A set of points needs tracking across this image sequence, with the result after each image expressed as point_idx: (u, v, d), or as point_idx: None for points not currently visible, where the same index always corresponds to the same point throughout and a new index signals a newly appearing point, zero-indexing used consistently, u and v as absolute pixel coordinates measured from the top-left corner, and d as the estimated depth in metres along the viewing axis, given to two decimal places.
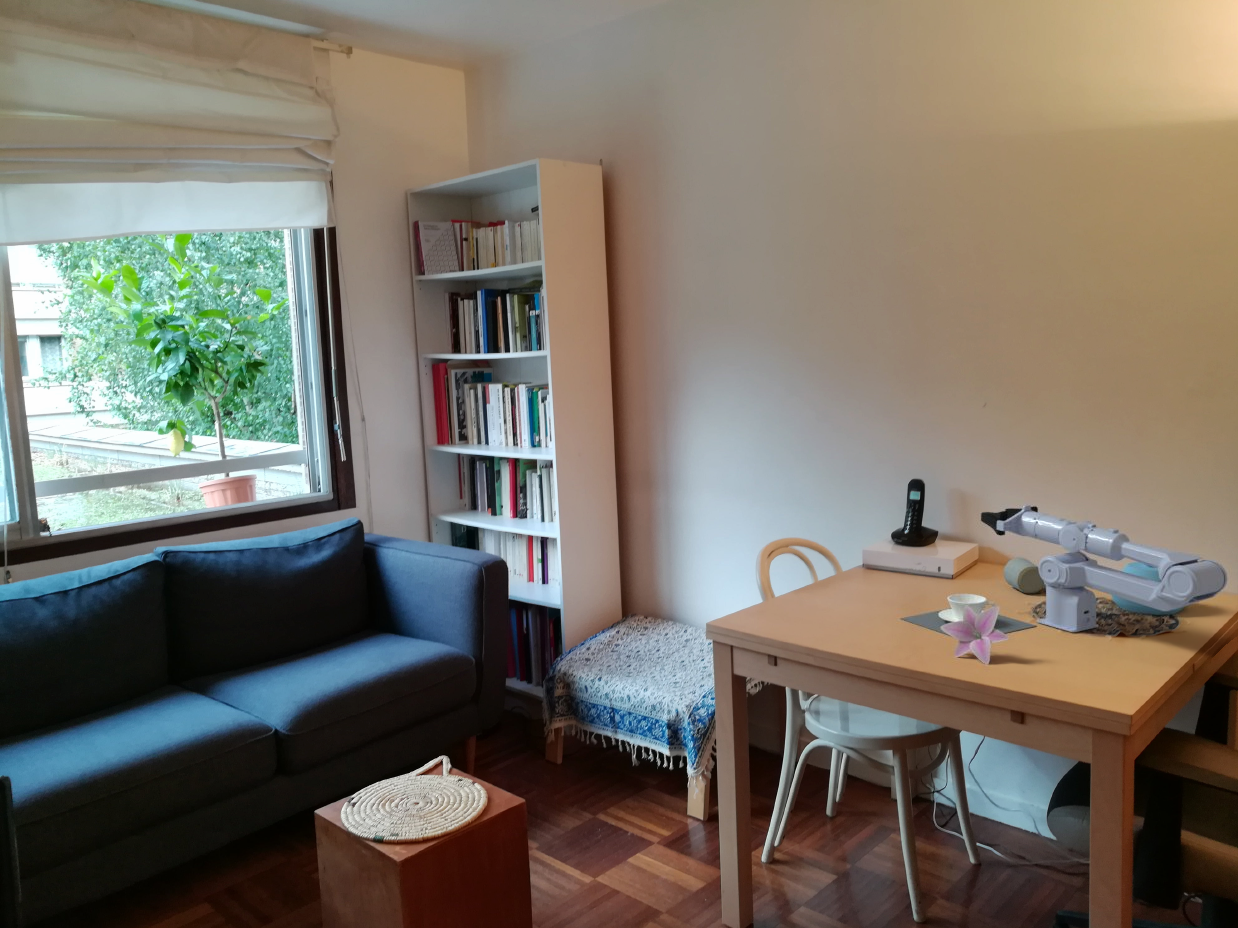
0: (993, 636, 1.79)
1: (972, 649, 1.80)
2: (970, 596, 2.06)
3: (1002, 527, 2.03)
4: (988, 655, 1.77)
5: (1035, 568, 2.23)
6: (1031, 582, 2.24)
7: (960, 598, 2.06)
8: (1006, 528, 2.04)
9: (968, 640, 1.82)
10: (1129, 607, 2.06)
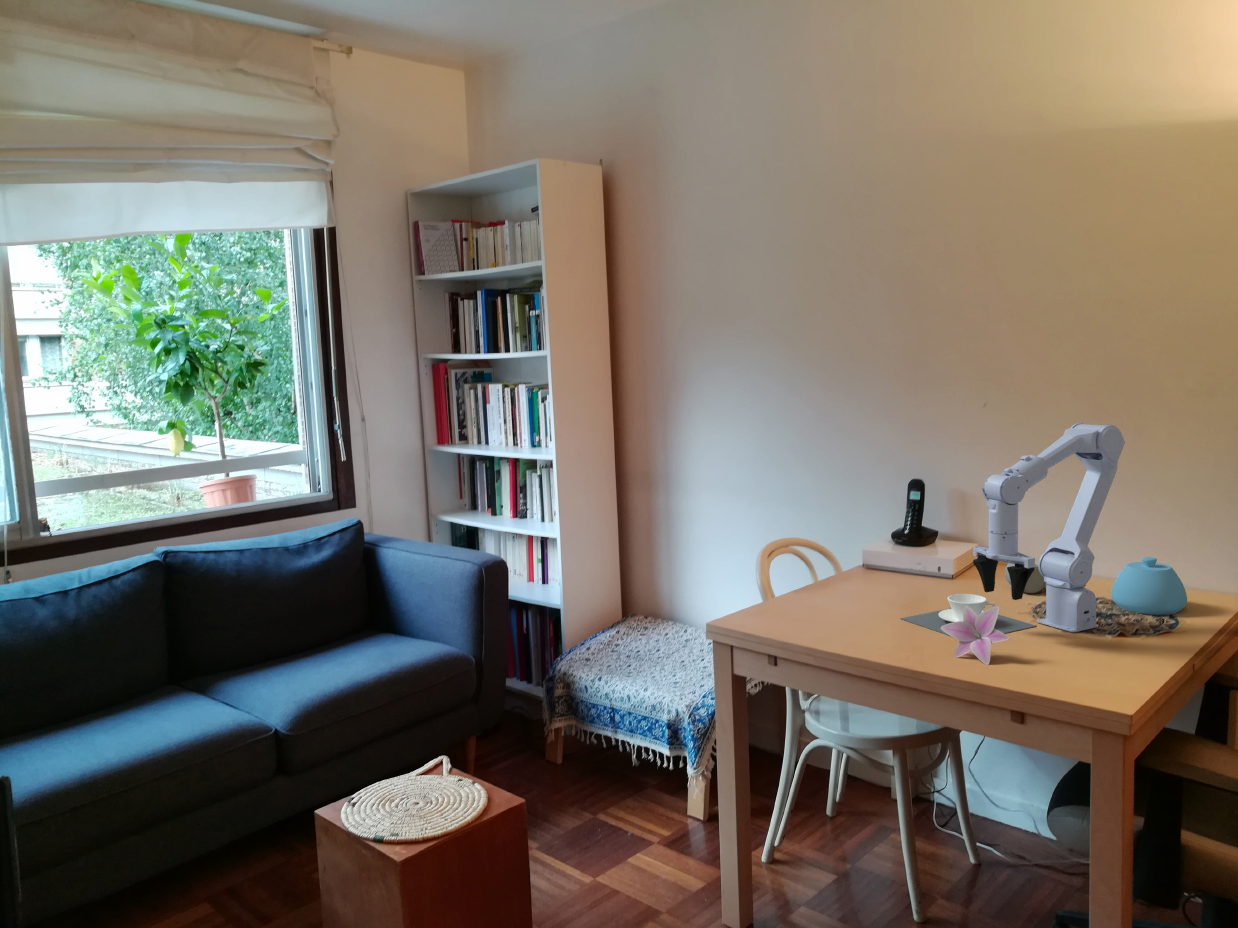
0: (993, 636, 1.79)
1: (972, 650, 1.80)
2: (970, 596, 2.06)
3: (1032, 559, 1.86)
4: (988, 655, 1.77)
5: (1036, 568, 2.23)
6: (1032, 582, 2.24)
7: (960, 598, 2.06)
8: None
9: (968, 640, 1.82)
10: (1129, 607, 2.06)
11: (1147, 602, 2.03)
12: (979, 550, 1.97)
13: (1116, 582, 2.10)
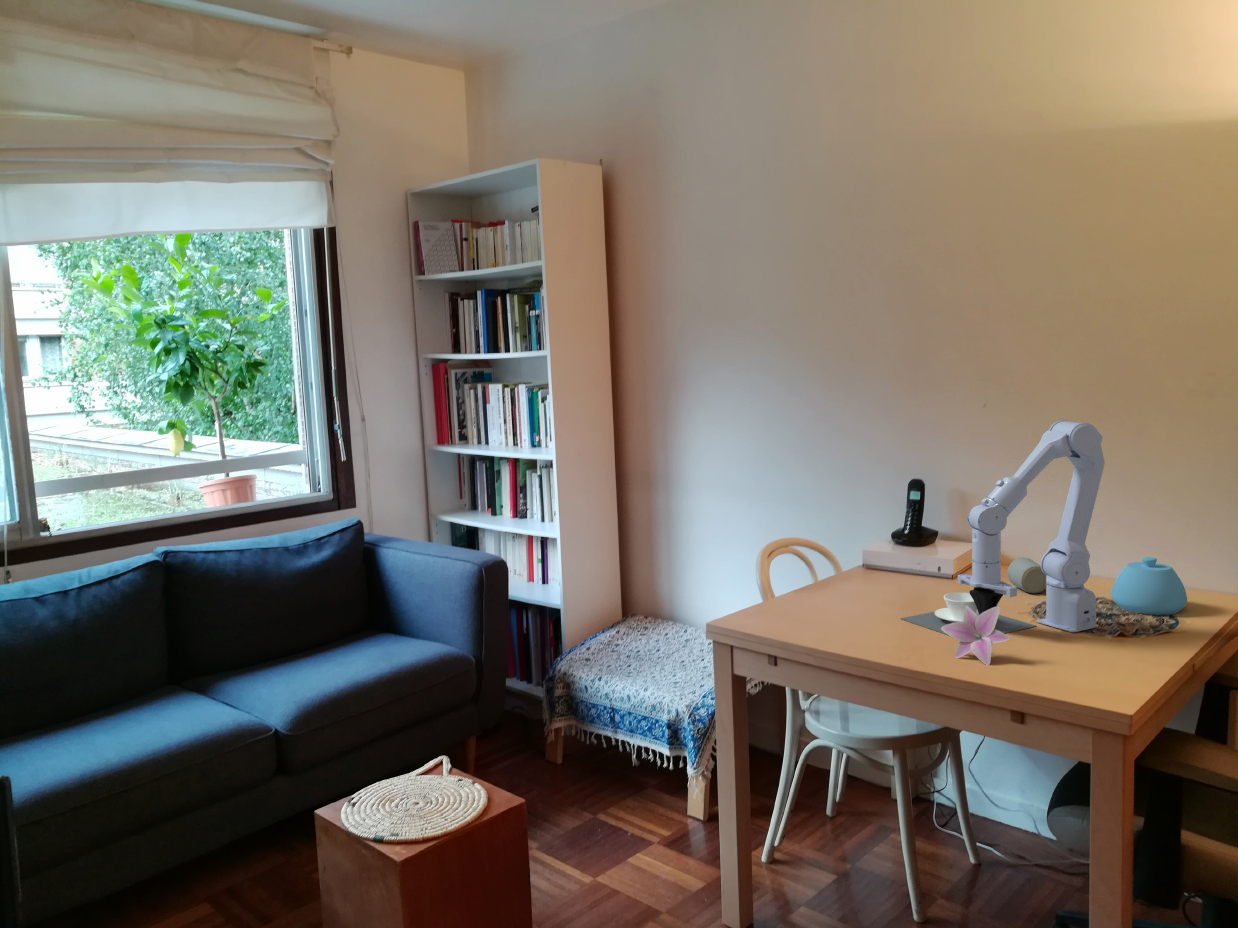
0: (994, 637, 1.79)
1: (973, 650, 1.79)
2: (966, 595, 2.07)
3: (1014, 588, 1.91)
4: (989, 656, 1.77)
5: (1039, 568, 2.23)
6: (1035, 581, 2.24)
7: (956, 597, 2.08)
8: (1010, 587, 1.93)
9: (968, 641, 1.82)
10: (1129, 607, 2.06)
11: (1148, 602, 2.03)
12: (963, 578, 2.01)
13: (1116, 582, 2.10)
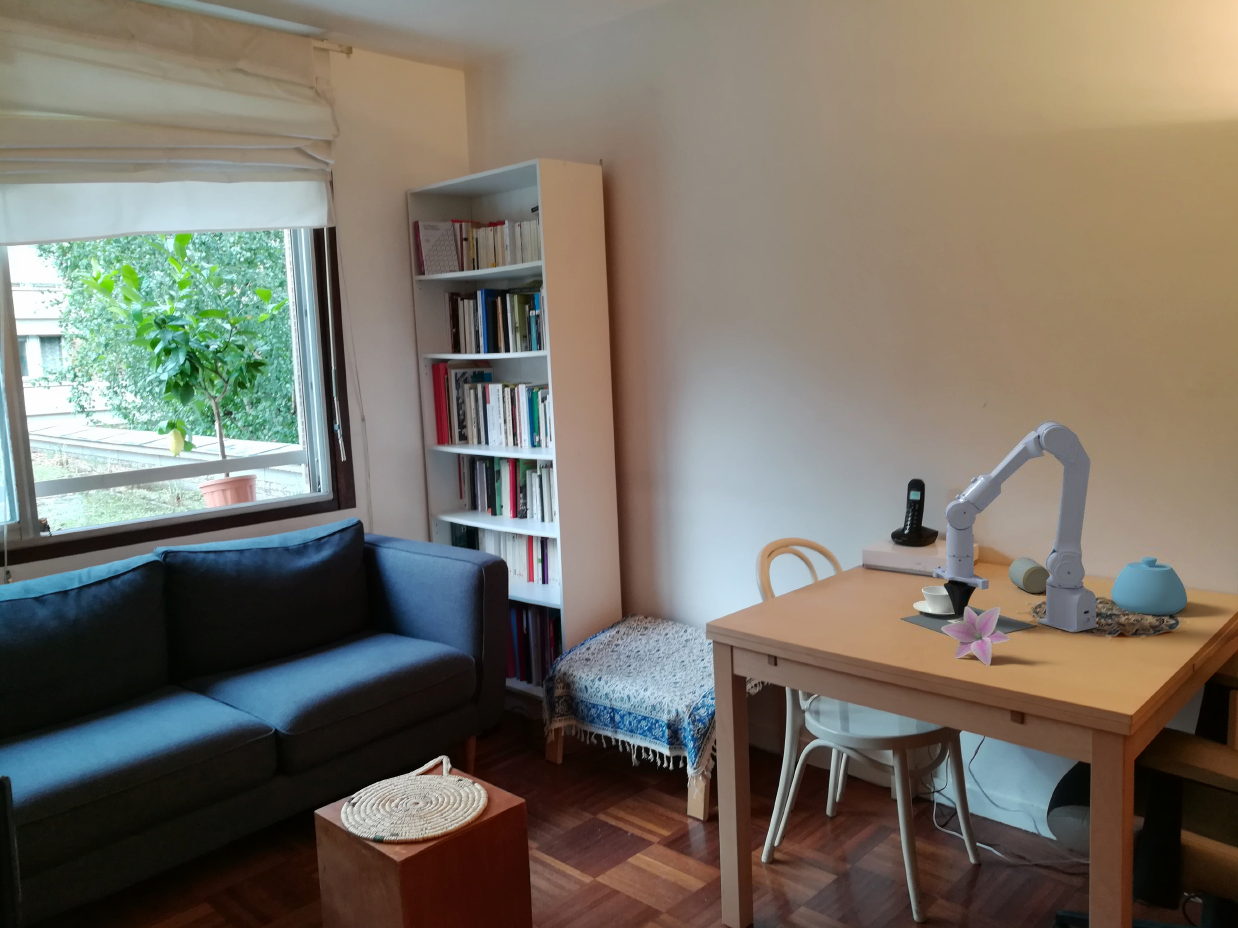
0: (994, 637, 1.79)
1: (973, 650, 1.79)
2: None
3: (986, 581, 1.98)
4: (989, 656, 1.77)
5: (1040, 568, 2.23)
6: (1036, 581, 2.24)
7: (935, 590, 2.15)
8: None
9: (968, 641, 1.81)
10: (1129, 607, 2.06)
11: (1147, 602, 2.03)
12: (938, 571, 2.08)
13: (1116, 582, 2.10)
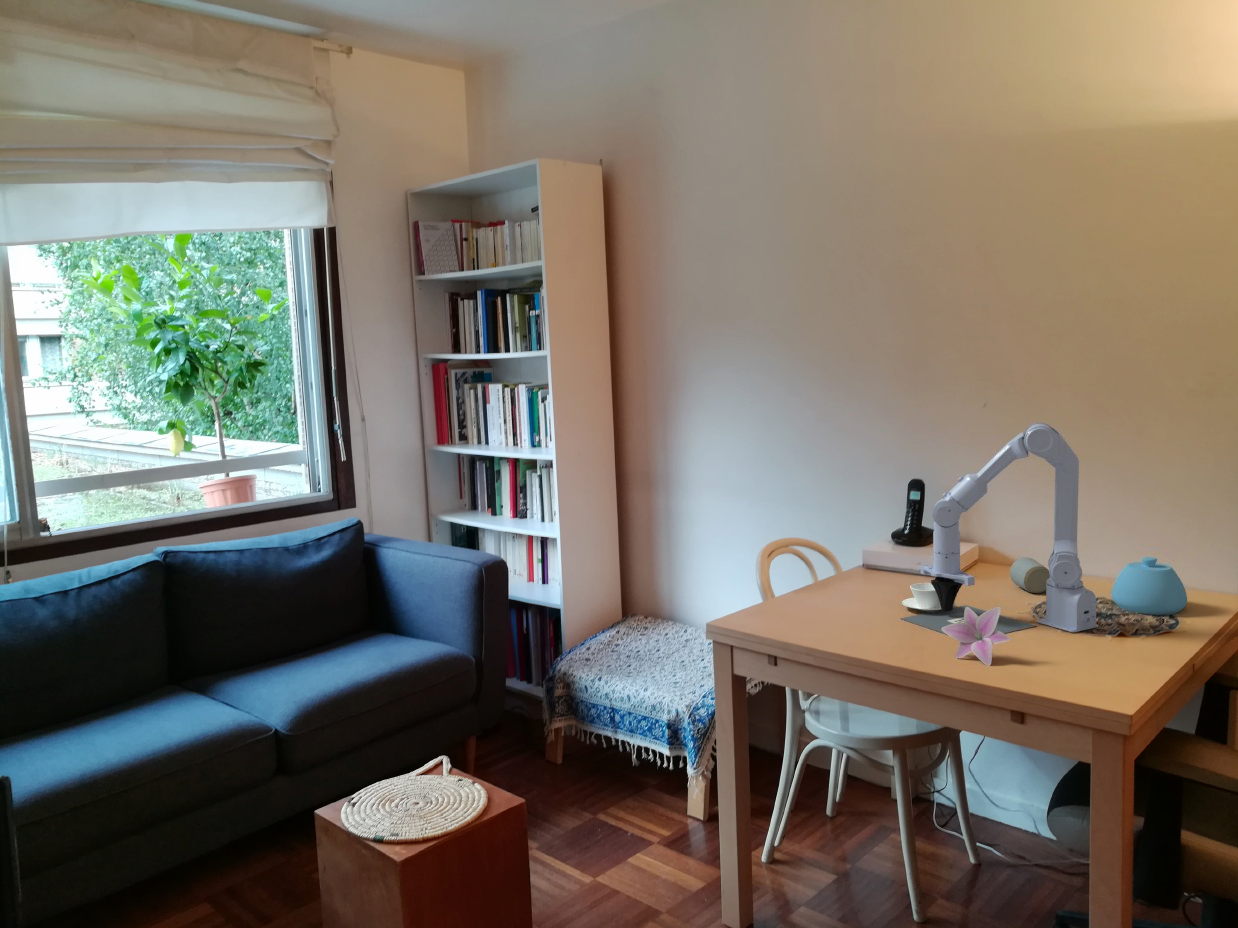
0: (995, 637, 1.78)
1: (973, 651, 1.79)
2: None
3: (972, 578, 2.01)
4: (990, 656, 1.76)
5: (1042, 568, 2.23)
6: (1037, 581, 2.23)
7: (923, 587, 2.18)
8: None
9: (969, 641, 1.81)
10: (1129, 607, 2.06)
11: (1148, 602, 2.03)
12: (925, 568, 2.12)
13: (1116, 582, 2.10)
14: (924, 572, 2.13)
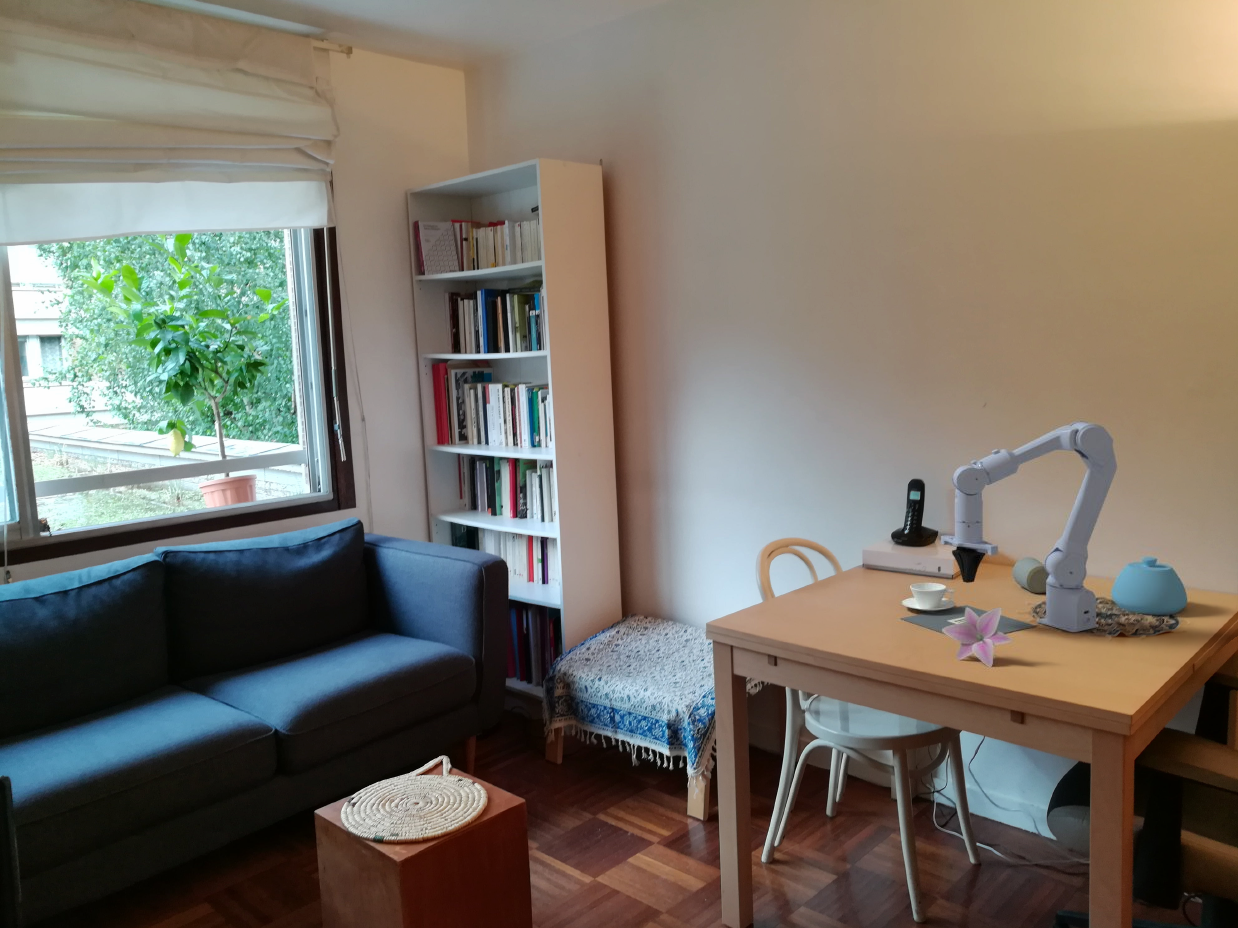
0: (996, 638, 1.78)
1: (974, 652, 1.78)
2: (933, 585, 2.18)
3: (995, 547, 1.95)
4: (991, 657, 1.76)
5: (1044, 568, 2.23)
6: (1040, 581, 2.23)
7: (923, 587, 2.18)
8: None
9: (970, 642, 1.81)
10: (1129, 607, 2.06)
11: (1148, 602, 2.03)
12: (946, 539, 2.05)
13: (1116, 582, 2.10)
14: (944, 543, 2.06)
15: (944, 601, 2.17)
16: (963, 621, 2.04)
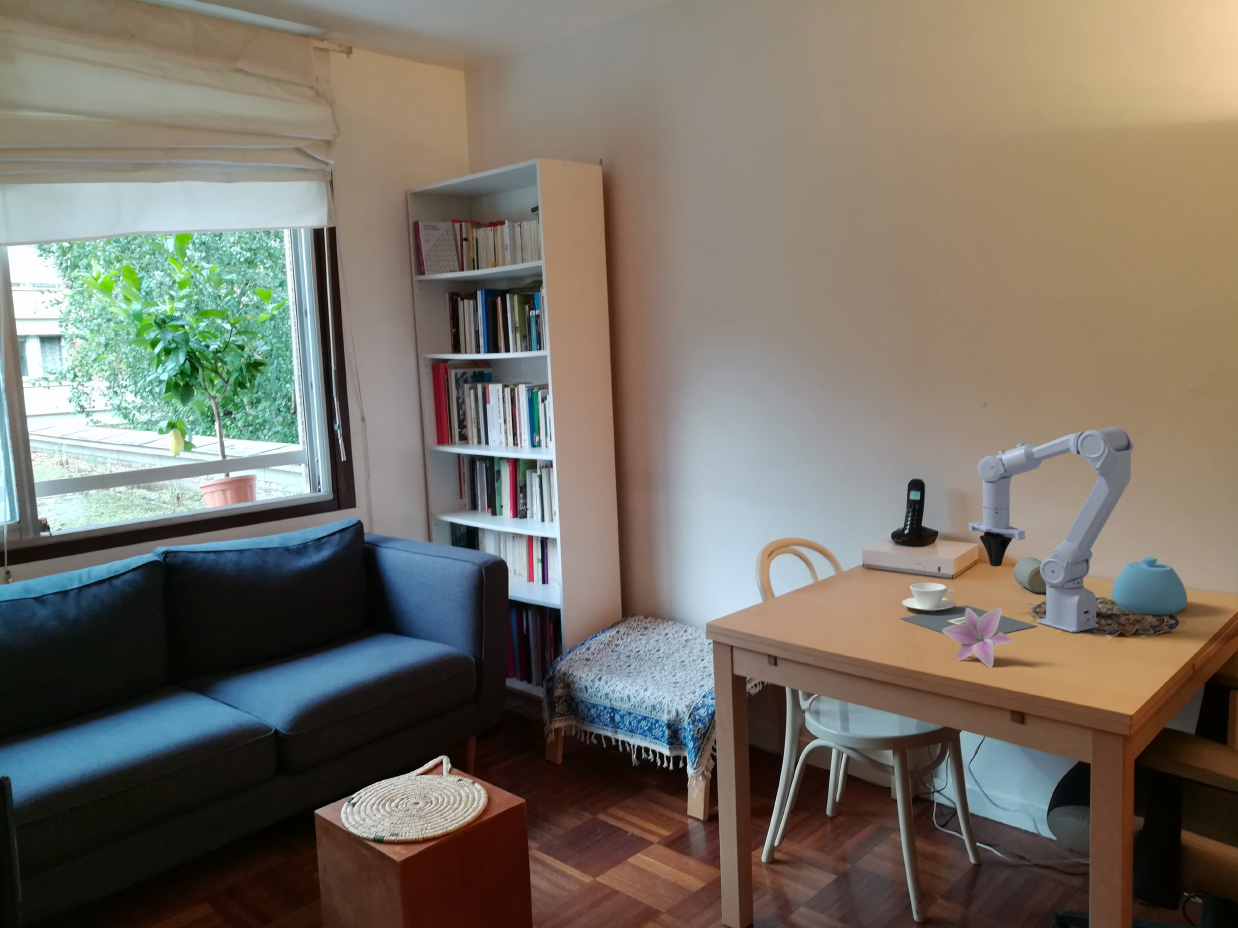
0: (996, 638, 1.78)
1: (975, 652, 1.78)
2: (933, 585, 2.18)
3: (1022, 532, 2.04)
4: (992, 658, 1.76)
5: None
6: (1041, 581, 2.23)
7: (923, 587, 2.18)
8: None
9: (970, 643, 1.80)
10: (1129, 607, 2.06)
11: (1148, 602, 2.02)
12: (974, 525, 2.14)
13: (1116, 582, 2.10)
14: (972, 529, 2.16)
15: (944, 601, 2.17)
16: (963, 621, 2.04)
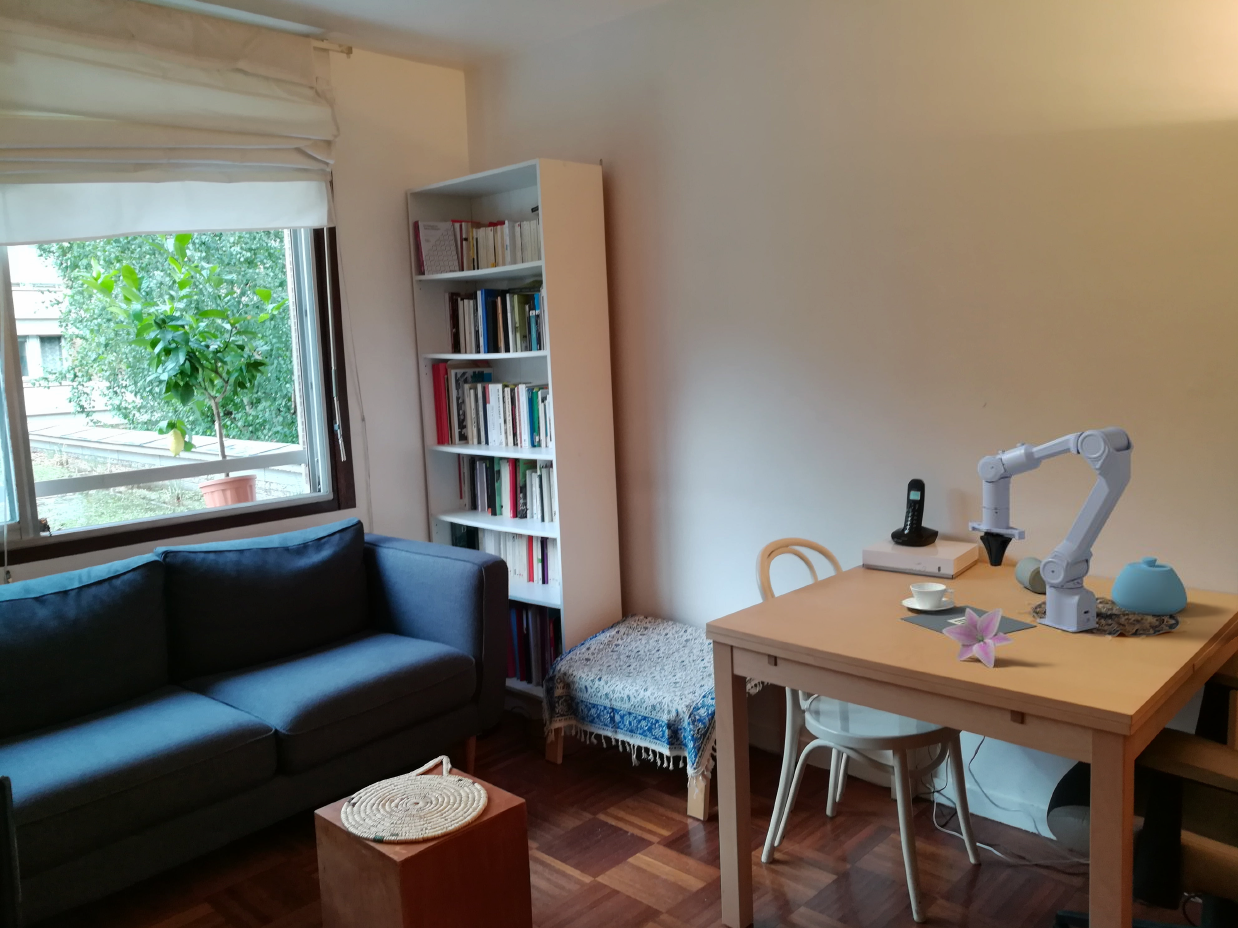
0: (996, 639, 1.77)
1: (975, 653, 1.78)
2: (933, 585, 2.18)
3: (1022, 532, 2.04)
4: (992, 658, 1.75)
5: None
6: (1042, 581, 2.23)
7: (923, 587, 2.18)
8: None
9: (970, 643, 1.80)
10: (1129, 607, 2.06)
11: (1148, 602, 2.02)
12: (974, 525, 2.14)
13: (1116, 582, 2.10)
14: (972, 529, 2.16)
15: (944, 601, 2.17)
16: (963, 621, 2.04)
